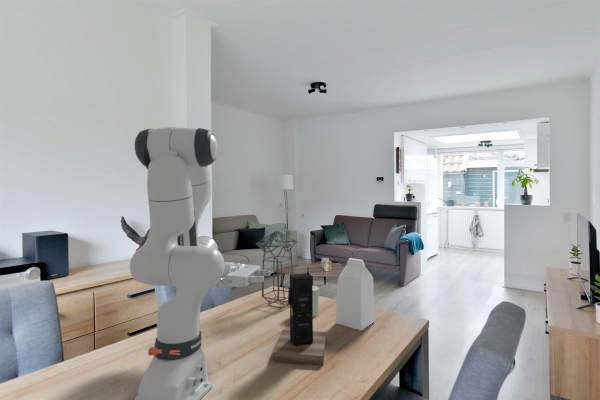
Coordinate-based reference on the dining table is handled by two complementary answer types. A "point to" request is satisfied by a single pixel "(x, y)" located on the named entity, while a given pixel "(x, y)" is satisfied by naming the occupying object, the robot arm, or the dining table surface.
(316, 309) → the can
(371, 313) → the milk
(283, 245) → the geometric lantern
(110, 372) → the dining table surface
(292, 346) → the walnut plinth
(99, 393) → the dining table surface
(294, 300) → the portable radio
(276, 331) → the dining table surface
